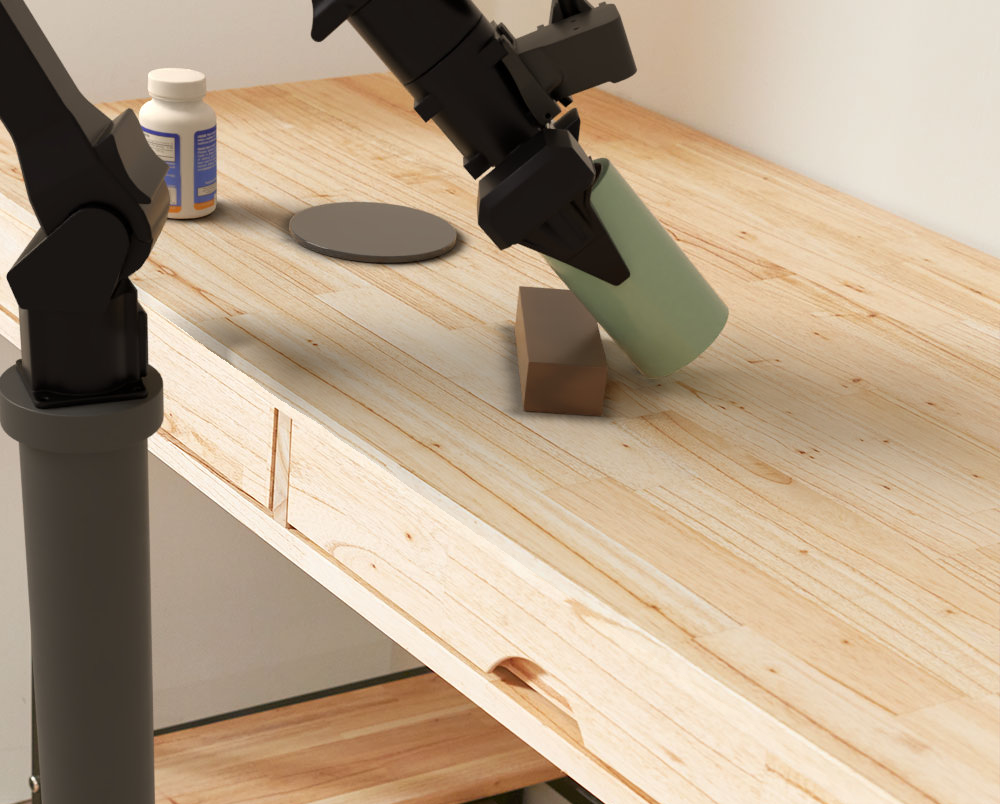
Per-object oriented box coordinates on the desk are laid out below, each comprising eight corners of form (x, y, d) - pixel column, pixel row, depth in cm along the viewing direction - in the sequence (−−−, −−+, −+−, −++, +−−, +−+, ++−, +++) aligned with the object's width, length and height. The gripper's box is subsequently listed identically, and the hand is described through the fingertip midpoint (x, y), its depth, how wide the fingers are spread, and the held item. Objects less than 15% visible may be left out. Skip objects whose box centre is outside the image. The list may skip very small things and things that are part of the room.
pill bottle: (205, 195, 115) (204, 64, 111) (226, 218, 111) (226, 82, 107) (132, 199, 113) (129, 65, 109) (151, 222, 109) (148, 84, 104)
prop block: (523, 411, 87) (528, 361, 85) (514, 330, 97) (519, 285, 96) (602, 416, 87) (608, 367, 86) (584, 335, 97) (590, 290, 96)
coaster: (323, 268, 104) (323, 261, 104) (266, 212, 113) (266, 206, 113) (483, 256, 109) (483, 250, 109) (416, 203, 118) (417, 197, 118)
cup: (509, 383, 89) (532, 170, 83) (505, 341, 94) (526, 138, 89) (724, 399, 90) (762, 189, 84) (707, 356, 95) (742, 157, 90)
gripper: (571, -21, 72) (761, 224, 78) (548, -78, 89) (706, 128, 95) (393, 131, 76) (589, 355, 82) (403, 49, 92) (565, 240, 98)
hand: (618, 260), depth 89 cm, fingers closed on cup, 6 cm apart
